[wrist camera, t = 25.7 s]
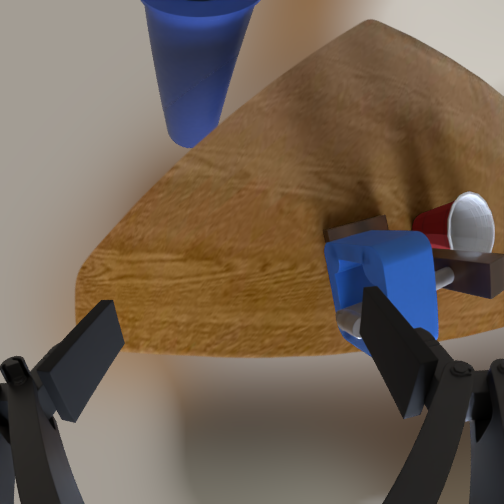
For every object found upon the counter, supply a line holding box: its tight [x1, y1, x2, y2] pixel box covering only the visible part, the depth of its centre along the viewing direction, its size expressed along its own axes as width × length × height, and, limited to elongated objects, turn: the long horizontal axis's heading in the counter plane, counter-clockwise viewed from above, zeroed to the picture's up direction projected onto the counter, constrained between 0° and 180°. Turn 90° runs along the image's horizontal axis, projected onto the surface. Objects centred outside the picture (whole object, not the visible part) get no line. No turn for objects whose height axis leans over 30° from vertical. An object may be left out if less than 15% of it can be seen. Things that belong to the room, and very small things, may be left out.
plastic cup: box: [412, 191, 495, 253], centre depth 40 cm, size 11×11×12 cm
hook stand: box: [323, 215, 504, 339], centre depth 31 cm, size 19×10×25 cm, turn 104°
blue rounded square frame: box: [324, 230, 438, 357], centre depth 26 cm, size 5×10×10 cm, turn 14°
